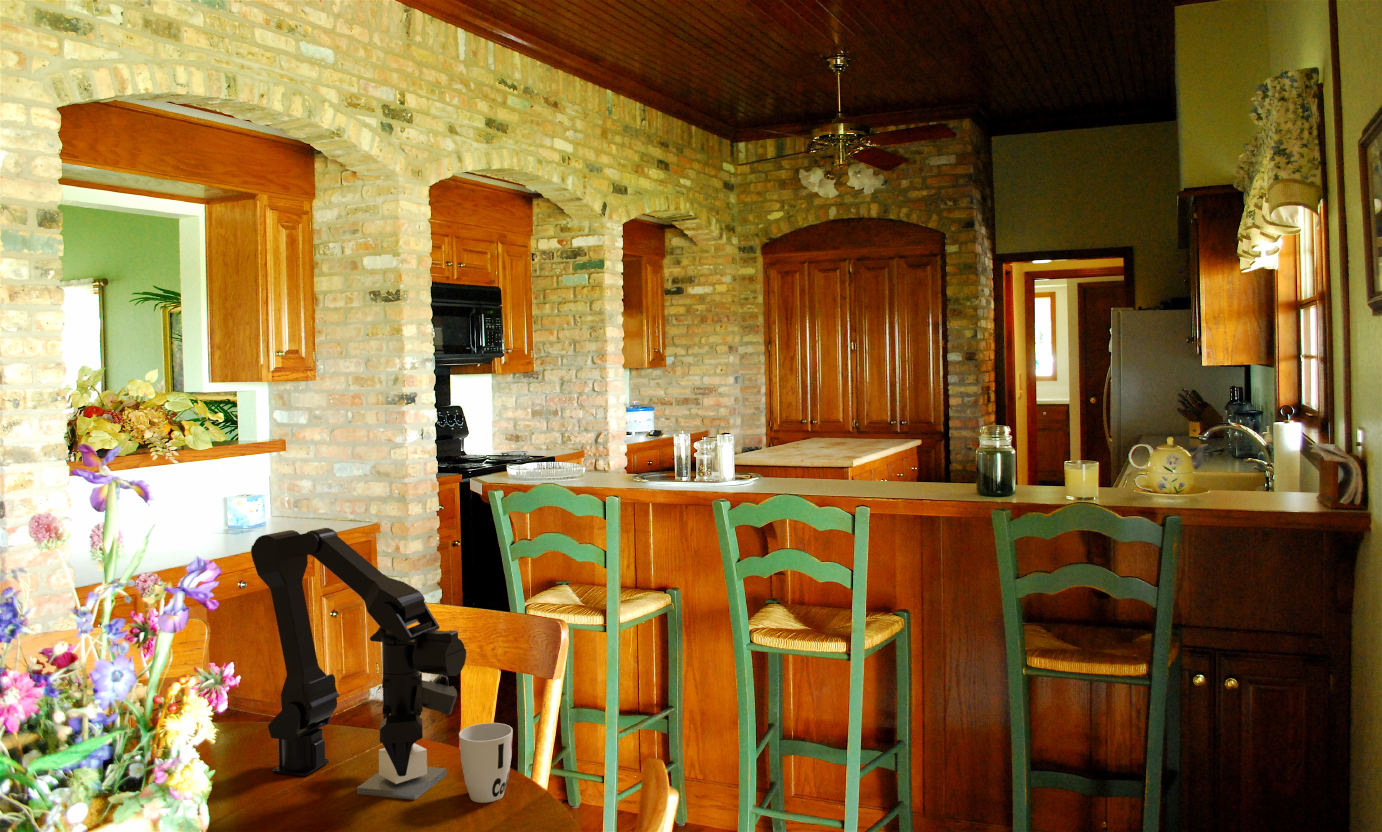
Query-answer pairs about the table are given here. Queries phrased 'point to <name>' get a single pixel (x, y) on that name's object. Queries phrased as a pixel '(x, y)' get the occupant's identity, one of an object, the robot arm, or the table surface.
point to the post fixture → (402, 785)
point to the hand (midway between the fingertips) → (402, 766)
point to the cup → (486, 760)
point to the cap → (415, 765)
